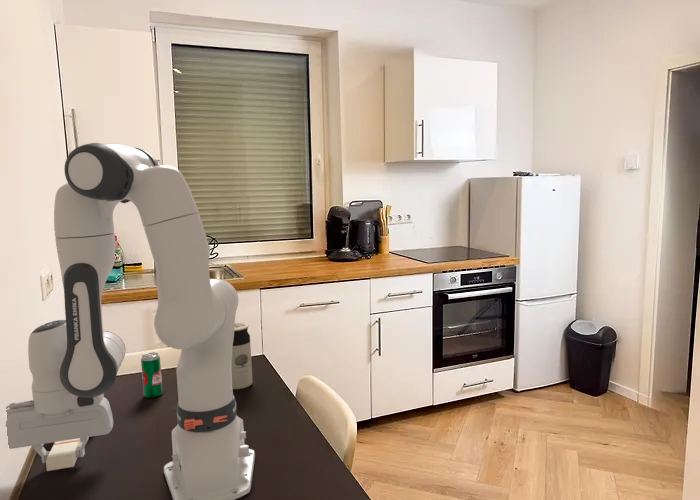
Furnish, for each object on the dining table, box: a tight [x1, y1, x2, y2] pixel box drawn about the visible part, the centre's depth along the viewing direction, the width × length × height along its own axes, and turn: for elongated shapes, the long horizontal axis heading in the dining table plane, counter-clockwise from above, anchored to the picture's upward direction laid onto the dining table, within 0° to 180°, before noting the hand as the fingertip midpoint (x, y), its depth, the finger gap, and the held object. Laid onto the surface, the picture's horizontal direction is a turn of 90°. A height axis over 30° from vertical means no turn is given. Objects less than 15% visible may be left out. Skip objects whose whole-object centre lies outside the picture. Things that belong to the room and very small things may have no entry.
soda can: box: [140, 351, 163, 399], centre depth 148 cm, size 5×5×12 cm
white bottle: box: [231, 322, 253, 390], centre depth 154 cm, size 8×8×18 cm
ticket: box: [45, 438, 83, 472], centre depth 116 cm, size 16×5×2 cm, turn 17°
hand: (64, 458), depth 112 cm, fingers closed on ticket, 5 cm apart
